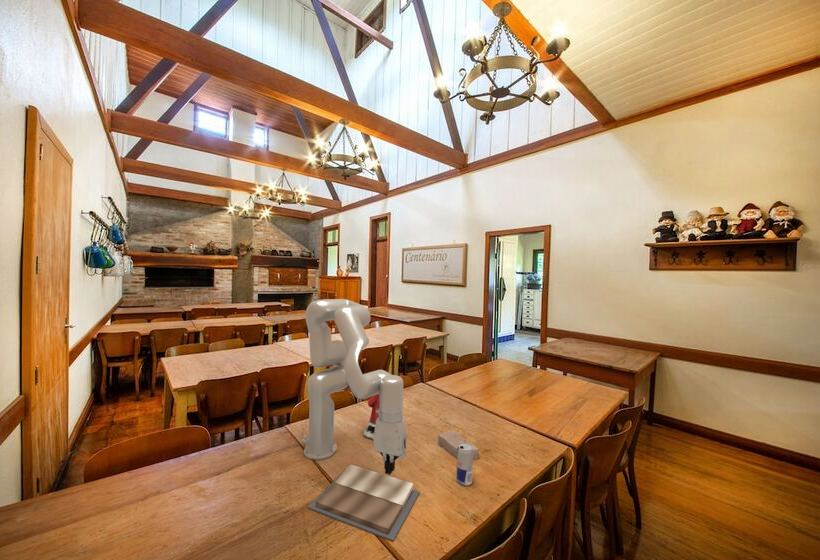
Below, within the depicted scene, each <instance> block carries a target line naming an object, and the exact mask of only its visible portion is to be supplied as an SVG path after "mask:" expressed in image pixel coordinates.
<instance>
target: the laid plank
mask: <svg viewBox="0 0 820 560" xmlns="http://www.w3.org/2000/svg"><path fill="white" fill-rule="evenodd" d="M316 507H318V508H320V509H323V510H326V511H328V512H331V513H334V514H336V515H339V516H341V517H344V518H347V519H349V520H352V521H354V522H357V523H360V524H362V525H365V526H368V527H370V528H373V529H375V530H378V531H381V532H383V533H386V534H389V532H390V531H391V529H392V527H393V525H394V524H395V522H396V520H397V518H398V517H399V515H400V513H401V511H402V506H400V505H397V504H394V503H391V502H388V501H385V500H382V499H380V498H377V497H374V496H371V495H368V494H365V493H362V492H359V491H356V490H353V489H350V488H347V487H344V486H341V485H338V484H335V483H334V484H333V485H332V486H331V487H330V488H329V489H328V490H327V491H326V492H325V493H324V494H323V495H322V496H321V497H320V498H319V499H318V500H317V501H316Z"/></svg>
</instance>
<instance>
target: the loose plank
mask: <svg viewBox="0 0 820 560" xmlns="http://www.w3.org/2000/svg"><path fill="white" fill-rule="evenodd" d="M340 475H341V476H340V477H339V478H338V479H337V480H336V481H335V484H338V485H341V486H344V487H347V488H350V489H353V490H356V491H359V492H362V493H365V494H368V495H371V496H374V497H377V498H380V499H382V500H385V501H388V502H391V503H394V504H397V505H400V506H402V509H403V507H404V505H405V503H406V501H407V499H408V497H409V495H410V493H411V491H412V489H413V490H414V483H413V482H410V481H407V480H403V479H400V478H397V477H393V476H391V475H388V474H385V473H380V472H378V471H373V470H370V469H367V468H364V467H360V466H357V465H355V464H351V463H350V464H349V465H348V466H347V467H346V468H345V470H343V471H342V472H341V473H340Z"/></svg>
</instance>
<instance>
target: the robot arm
mask: <svg viewBox="0 0 820 560" xmlns="http://www.w3.org/2000/svg"><path fill="white" fill-rule="evenodd" d="M329 321H334V323H335V326H336V328H337V329H338V332H339V335H340V337H341V340H340V339H339V340H338V339H337V340H332V331H331V329H330V326H329V325H328V323H326V322H329ZM370 322H371V313H370V311H369V310H368V308H367V306H365V305H363V304H360V303H358V302H355V301H352V300H349V299H345V298H334V299H332V298H331V299H330V298H329V299H328V298H326V299H316V300H314V301H312V302H311V303H309V304H308V306H307V308H306V310H305V323H306V326H307V331H308V336H309V338H308V341H309V342H308V343H309V344H308V345H309V356H310V359H309V360H310V363H311V365H312V366H313V367H314V368H325V367H330V366H333V367H330V368H325V369H323V370H322V369H321V370H319V371H316V372H314V373H312V374H311V375H310V376H309V377H308V379H307V390H308V399H309V400H308V403H309V407H308V409H309V411H308V413H309V415H308V434H303V436H302V438H301V441H300V442H301V443H302V444H305V446H304V448H303V455H304V456H305V458H307V459H310V460H314V461H315V460H316V461H317V460H325V459H328V458H330V457H332V456H333V455H335V454H336V452H337V450H338V445H337V443H336V442H335V441H334V429H335V428H334V426H335V403H334V401H333V399H332V397H331V394H333V393H337V392H339V391H343V390H344V389H346V388H347V387H349V389H350V391H351V393H352V394H353V396H354V397H355V398H357V399H358V400H366V399H370V398H371V397H372V396H373V395H376V394H380V409H376V413H378V414H379V417H378V418H377V420H376V425H375V431H374V439H373V441H372V444H373V450H374V451H376V452H377V453H379V454H380V455H381V457H382V460H383V462H384V465H383V466H384V467H383V469H384V470H385V471H384V475H387V476H391V474H392V473H393V472H394V471H395V469H396V460H397V459H404V458H405V457H406V456H407V453H406V449H407V429H406V428H407V427H406V423H405V422H406V421H405V419H404V418H403V415H404V414H403V412H404V411H403V410H404V409H403V408H404V380H403V378H402V376H399V375H395V374H391V373H390V372H388V371H386V370H384V369H377V370H373V371H369V372H367V373H363V372H362V369H361V367H360V365H359V364H360V363H359V356H360V354H361V352H362V351H363V350H364V349H366V347H367V346H369V344H370V339H369V337H368V335H367V333H366V330H365V328H364V327H366V326H368V325H369V324H370Z"/></svg>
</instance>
